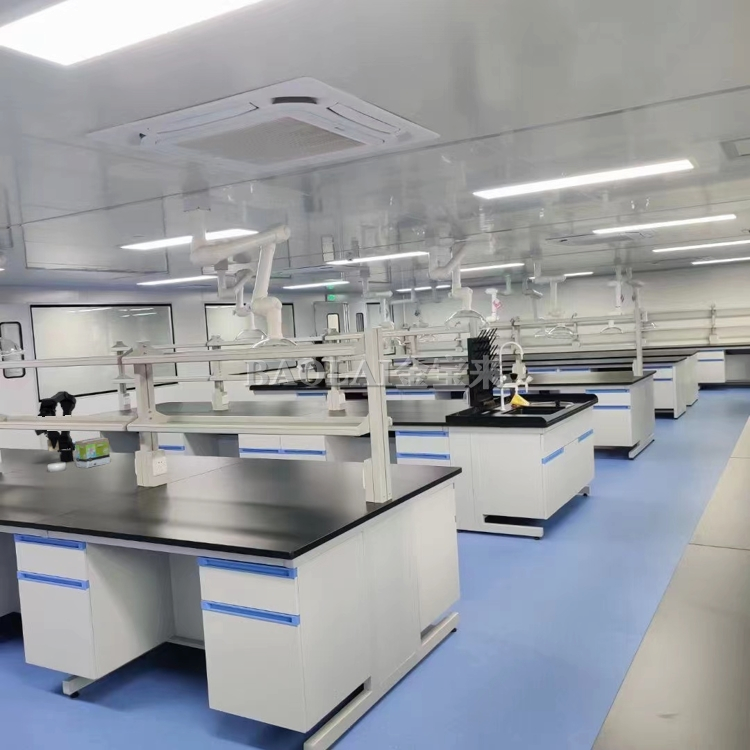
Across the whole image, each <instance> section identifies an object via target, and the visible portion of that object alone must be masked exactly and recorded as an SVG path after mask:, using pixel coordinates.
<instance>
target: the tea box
mask: <svg viewBox="0 0 750 750" xmlns="http://www.w3.org/2000/svg"><path fill="white" fill-rule="evenodd" d="M109 441H110V440H109V438H108V437H95V438H94V437H93V438H87V439H82V440H77V441H75V442H74V443H75V444H74V445H75V459H76V461H75V462H76V467H77V468H83V469H88V468H92V467H97V466H101V465H102V466H103V465H106V464H107V465H109V464H110V463H111V457H110V453H111V452H110V443H109Z"/></svg>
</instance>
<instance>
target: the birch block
mask: <svg viewBox="0 0 750 750" xmlns="http://www.w3.org/2000/svg"><path fill="white" fill-rule="evenodd" d="M46 444H47V451H48V452H55V451H57V450H59V446H58V441H57V444H56V447H55V449H53V448H52V444H51V441H50V439H48V438H47V439H46Z"/></svg>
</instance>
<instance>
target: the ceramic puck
mask: <svg viewBox="0 0 750 750" xmlns="http://www.w3.org/2000/svg"><path fill="white" fill-rule="evenodd" d="M66 463H67V462H61V461H59V462H53V463H52V462H51V463H49V464H47V473H52V474H53V473H61V472H63V471H66V470H67V464H66Z"/></svg>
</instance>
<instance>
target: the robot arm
mask: <svg viewBox="0 0 750 750" xmlns="http://www.w3.org/2000/svg"><path fill="white" fill-rule="evenodd" d="M58 404H60V408H61V409H62V416H65V415H71V416H72V413H73V410H74V409H75V408H76V405H77V399H76V397H75V396H74V395H73V394H71V393H69V392H68V391H66V390H65V391H64V390H62V391H61V390H59V391H57V392H56V393H55V394H54V395H53V396H51V397H47V398H43V399H42V400H41V401H40V405H39V410H38V412H39V413H38V414H37V416H42V417H45V416H56V417H57V407H58V406H59V405H58ZM33 431H34V433H35V434H36V436H38V437H39V436H41V435H42V434H43V435H44V436H45V437H46V438H47V440H48V439H50V441H51V444H52V448H53V449H55V447H56V444H57V441H58V446H59V450H56V452H57V453H59V462H65V463H69V462H70V463H72V462H75V459H74V451H75V452H76V448H75V444H74V442H73V438H72V437H71V430H70V431H61V430H60V431H59V430H58V431H47V430H36V429H34V430H33Z"/></svg>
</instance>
